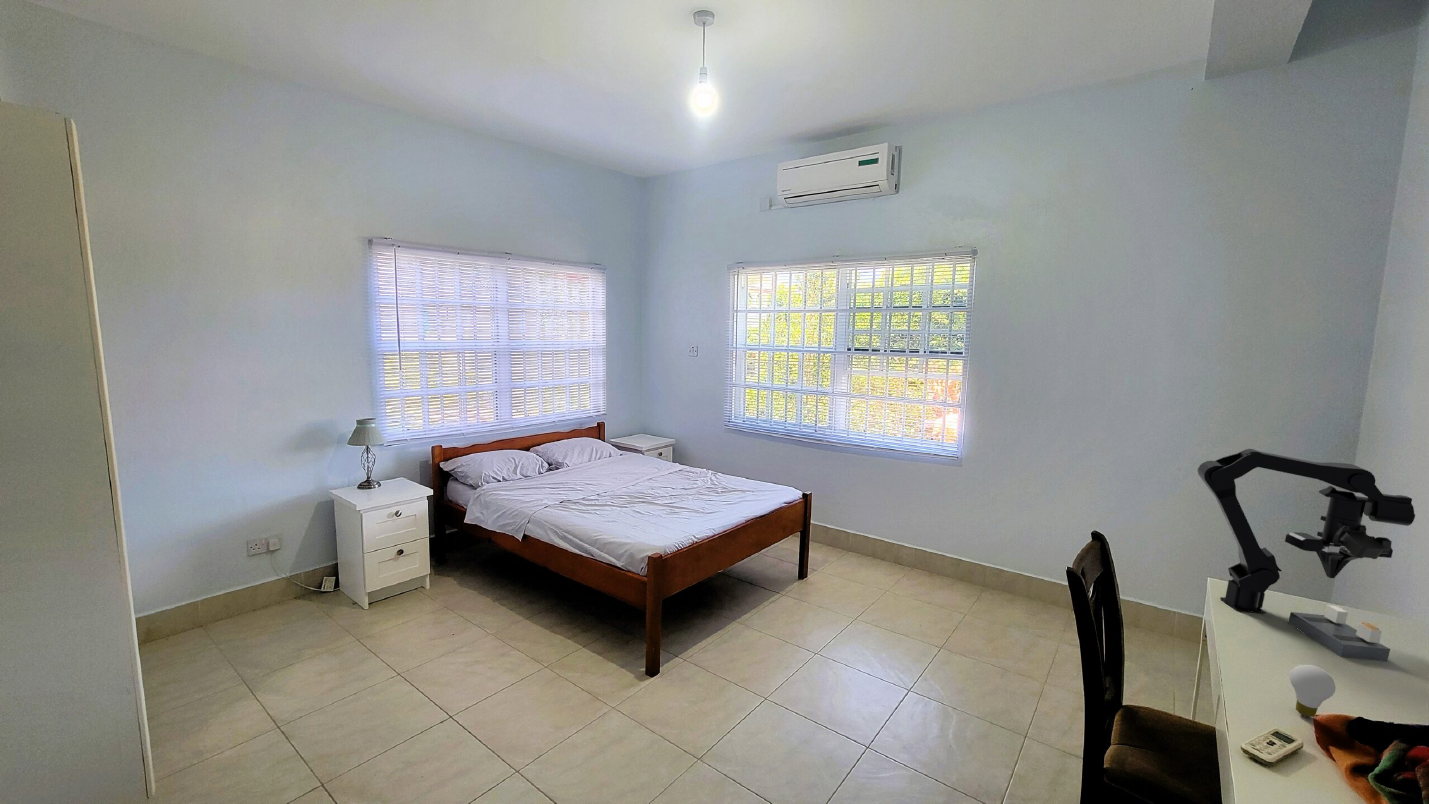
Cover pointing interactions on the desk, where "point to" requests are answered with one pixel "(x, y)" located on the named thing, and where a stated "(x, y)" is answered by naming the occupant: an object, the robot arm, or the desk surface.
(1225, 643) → the desk surface
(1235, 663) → the desk surface
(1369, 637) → the handle
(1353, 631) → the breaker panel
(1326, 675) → the light bulb
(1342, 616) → the handle
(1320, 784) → the desk surface
